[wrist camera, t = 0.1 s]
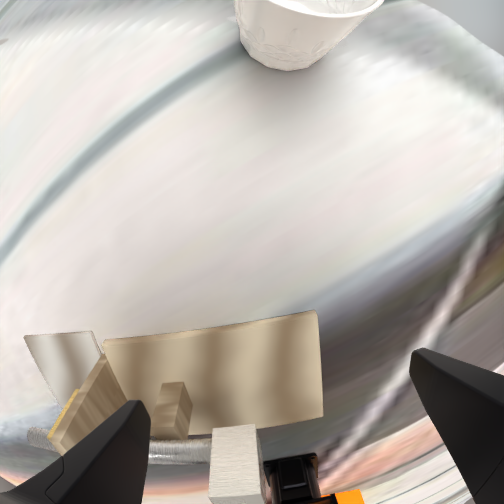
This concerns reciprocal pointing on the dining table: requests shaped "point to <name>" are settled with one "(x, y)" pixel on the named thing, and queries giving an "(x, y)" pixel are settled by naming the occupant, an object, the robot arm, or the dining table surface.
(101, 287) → the dining table surface
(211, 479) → the shaft
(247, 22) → the white cup
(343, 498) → the orange juice
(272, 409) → the wooden latch stand
